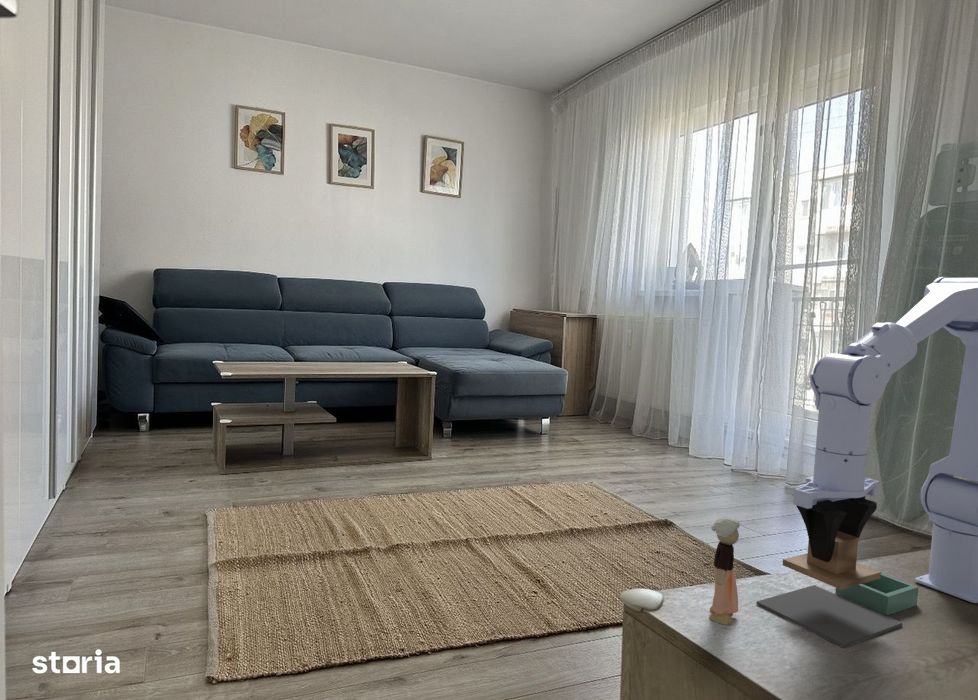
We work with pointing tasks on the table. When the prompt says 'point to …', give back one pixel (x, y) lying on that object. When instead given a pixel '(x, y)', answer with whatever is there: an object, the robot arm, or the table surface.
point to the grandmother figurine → (725, 571)
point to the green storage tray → (882, 594)
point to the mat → (829, 615)
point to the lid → (835, 565)
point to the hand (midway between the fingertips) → (832, 556)
